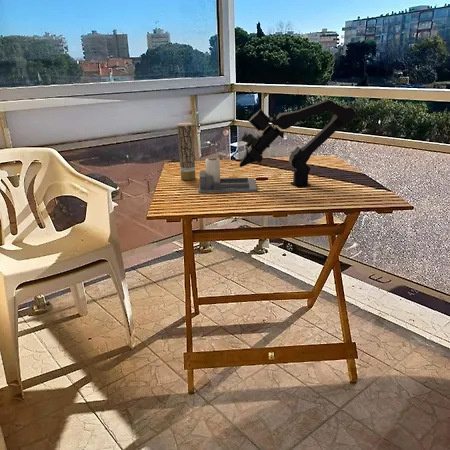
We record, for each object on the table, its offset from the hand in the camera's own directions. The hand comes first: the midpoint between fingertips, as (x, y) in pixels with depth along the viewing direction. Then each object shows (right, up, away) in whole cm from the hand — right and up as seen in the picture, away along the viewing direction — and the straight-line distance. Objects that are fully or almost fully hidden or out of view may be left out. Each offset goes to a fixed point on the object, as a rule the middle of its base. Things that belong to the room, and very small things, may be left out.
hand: (239, 166), depth 167 cm
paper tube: (-23, -4, +16) cm, 29 cm away
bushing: (-11, -8, +3) cm, 14 cm away
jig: (-5, -8, +3) cm, 10 cm away
